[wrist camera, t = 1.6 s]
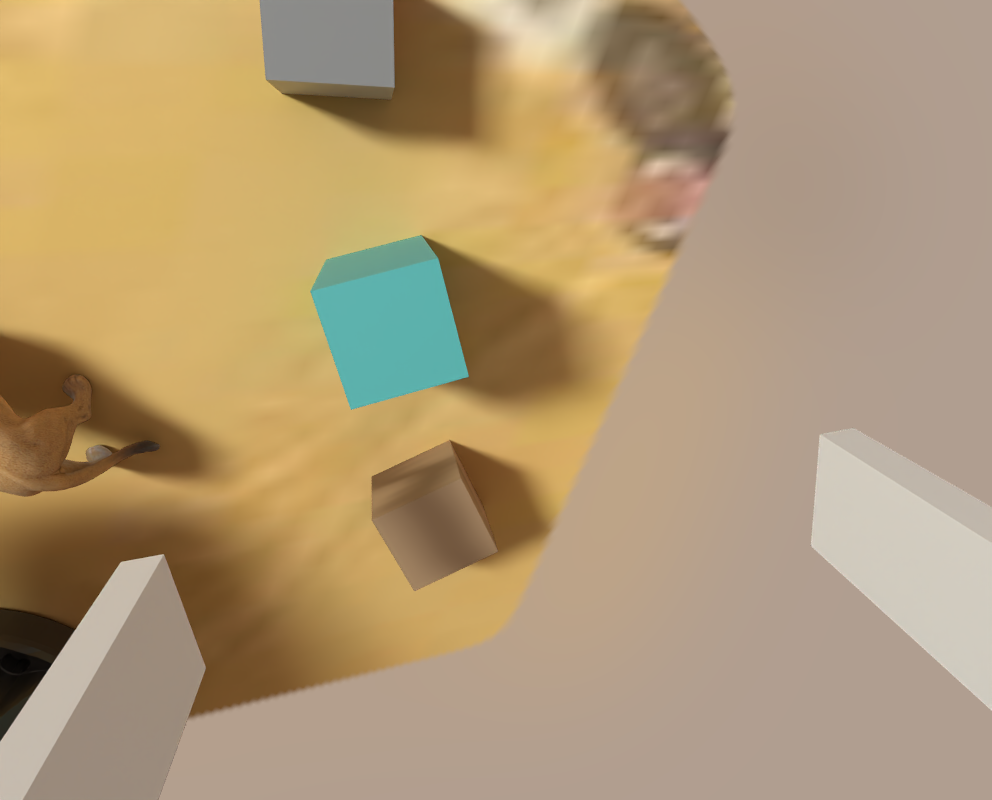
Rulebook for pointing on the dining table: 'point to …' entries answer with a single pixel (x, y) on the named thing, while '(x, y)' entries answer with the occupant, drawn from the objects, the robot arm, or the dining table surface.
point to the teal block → (388, 321)
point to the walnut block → (431, 516)
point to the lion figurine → (53, 446)
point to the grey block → (329, 47)
